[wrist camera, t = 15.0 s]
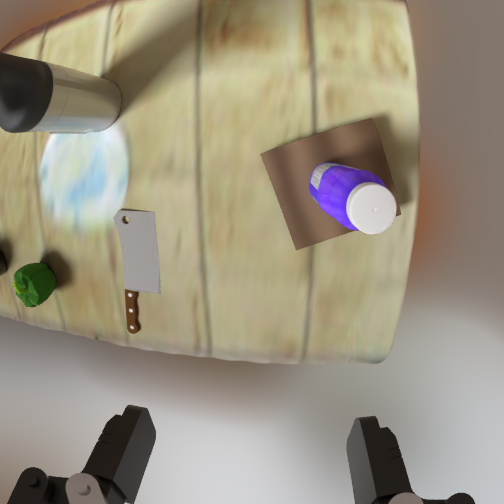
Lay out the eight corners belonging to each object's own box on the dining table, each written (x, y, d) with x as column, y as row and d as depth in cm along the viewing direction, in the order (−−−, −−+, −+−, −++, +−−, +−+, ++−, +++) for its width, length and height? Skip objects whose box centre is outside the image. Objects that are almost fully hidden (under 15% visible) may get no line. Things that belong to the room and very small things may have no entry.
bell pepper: (62, 299, 54) (34, 321, 45) (36, 287, 54) (8, 306, 45) (60, 263, 51) (29, 283, 42) (34, 252, 51) (2, 269, 42)
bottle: (366, 173, 38) (421, 190, 21) (353, 212, 39) (399, 254, 23) (315, 156, 38) (340, 159, 21) (303, 197, 39) (319, 229, 23)
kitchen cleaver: (165, 341, 54) (118, 330, 53) (167, 338, 55) (120, 327, 54) (169, 212, 46) (114, 206, 46) (171, 211, 47) (116, 204, 47)
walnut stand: (295, 241, 46) (296, 250, 42) (262, 153, 42) (260, 153, 38) (391, 209, 42) (401, 214, 39) (364, 120, 39) (372, 117, 35)
